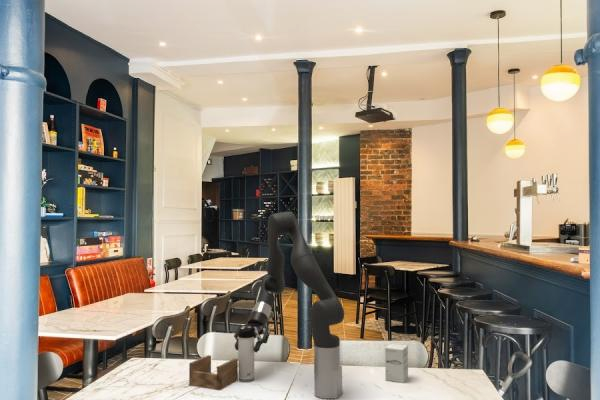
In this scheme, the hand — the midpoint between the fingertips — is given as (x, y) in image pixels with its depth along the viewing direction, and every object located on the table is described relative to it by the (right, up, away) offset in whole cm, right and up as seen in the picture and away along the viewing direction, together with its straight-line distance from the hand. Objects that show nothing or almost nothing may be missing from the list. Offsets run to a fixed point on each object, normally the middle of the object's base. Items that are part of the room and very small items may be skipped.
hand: (245, 350), depth 180 cm
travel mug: (0, -12, 0) cm, 12 cm away
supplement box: (+59, -11, -1) cm, 60 cm away
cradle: (-12, -12, -3) cm, 17 cm away
